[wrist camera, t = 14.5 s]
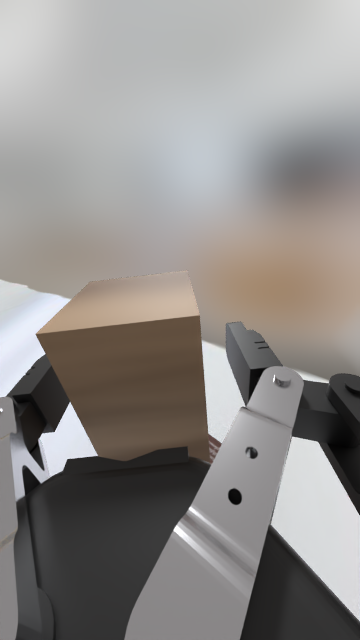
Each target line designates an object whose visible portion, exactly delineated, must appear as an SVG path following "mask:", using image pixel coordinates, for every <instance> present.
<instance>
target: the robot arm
mask: <svg viewBox="0 0 360 640" xmlns="http://www.w3.org/2000/svg"><path fill="white" fill-rule="evenodd" d="M226 353H227V358H228V361H229V364H230V366H231V369H232V372H233V374H234V377H235V379H236V382H237V385H238V387H239V390H240V393H241V395H242V398H243V400H244V403H245V406H246V408H245V407H241V408H240V410H239V411H238V413H237V415H236V417H235V419H234V421H233V423H232V425H231V427H230V429H229V431H228V433H227V435H226V437H225V439H224V441H223V443H222V445H221V447H220V449H219V451H218V453H217V455H216V457H215V459H214V461H213V463H212V464H210V463H208V462H206V461H204V460H202V459H199V458H196V457H191V456H189V452H188V446H185V447H176V448H167V449H158V450H155V451H153V452H150V453H147V454H145V455H142V456H139V457H137V458H134V459H131V460H128V461H120V460H115V459H110V458H104V457H99V456H93V457H84V458H75V459H67V462H66V464H65V467H64V469H63V471H62V472H60V473H58V474H56V475H54V476H52V477H50V474H49V470H48V465H47V461H46V457H45V453H44V449H43V445H42V442H41V440H40V439H39V438H40V436H41V434H42V433H49V432H55V430H56V428H57V426H58V424H59V422H60V420H61V418H62V416H63V414H64V412H65V410H66V408H67V406H68V404H69V402H70V400H69V398H68V396H67V394H66V392H65V390H64V388H63V386H62V385H61V383H60V381H59V379H58V377H57V375H56V373H55V371H54V369H53V367H52V365H51V363H50V361H49V359H48V357H47V355H46V354H45V355H44V356H42V357H41V358H40V359H38V360H37V361H36V362H35V363H34V364H33V366H32V367H31V369H29V370H28V371H27V373H26V375H24V376H23V377H22V378H21V380H20V381H19V382H18V383H17V384H16V385H15V387H14V388H13V389H12V390H11V391H10V392H9V394H8V395H7V396H6V397H1V398H0V640H360V621H359V620H358V619H357V618H356V617H355V616H354V615H353V614H352V613H351V612H350V610H349V609H348V608H347V607H346V606H345V605H344V604H343V603H342V602H341V601H340V600H339V598H338V597H337V596H336V595H335V594H334V593H333V592H332V591H331V590H330V589H329V588H328V587H327V585H326V584H325V583H324V582H323V581H322V580H321V579H320V578H319V577H318V576H317V575H316V573H315V572H314V571H313V570H312V569H311V568H310V567H309V566H308V565H307V564H306V563H305V561H304V560H303V559H302V558H301V557H300V556H299V555H298V554H297V553H296V552H295V551H294V549H293V548H292V547H291V546H290V545H289V544H288V543H287V542H286V541H285V540H284V539H283V537H282V536H281V535H280V534H279V533H278V532H277V531H276V530H275V529H274V528H273V527H272V526H271V521H272V517H273V513H274V509H275V505H276V500H277V496H278V492H279V488H280V484H281V479H282V475H283V471H284V467H285V463H286V459H287V455H288V451H289V446H290V442H291V438H292V436H293V437H298V438H303V439H308V440H313V441H318V442H319V444H320V446H321V448H322V449H323V451H324V453H325V455H326V457H327V458H328V460H329V462H330V464H331V465H332V467H333V469H334V471H335V473H336V474H337V476H338V478H339V480H340V481H341V483H342V485H343V487H344V488H345V490H346V492H347V494H348V496H349V497H350V499H351V501H352V503H353V504H354V506H355V508H356V510H357V512H358V513H359V515H360V377H359V376H356V375H351V374H336V375H334V376H332V377H331V378H330V381H329V383H321V382H313V381H306V380H303V379H302V377H301V376H300V375H299V374H298V373H297V372H295V371H293V370H291V369H289V368H286V367H283V365H282V364H281V363H280V361H279V360H278V359H277V357H276V356H275V354H274V353H273V351H272V350H271V349H270V348H269V346H268V344H267V343H266V342H265V340H264V339H263V337H262V336H261V335H260V334H259V333H257V332H256V331H254V330H246V328H245V327H244V325H243V324H242V322H232V323H227V324H226Z"/></svg>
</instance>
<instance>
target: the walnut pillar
mask: <svg viewBox="0 0 360 640" xmlns="http://www.w3.org/2000/svg"><path fill="white" fill-rule="evenodd" d="M36 336H37V338H38V340H39V342H40V344H41V346H42V348H43V350H44V352H45V353H46V355H47V357H48V359H49V361H50V363H51V365H52V367H53V369H54V371H55V373H56V375H57V377H58V379H59V381H60V383H61V385H62V386H63V388H64V390H65V392H66V394H67V396H68V398H69V400H70V402H71V404H72V406H73V408H74V410H75V412H76V414H77V416H78V418H79V419H80V421H81V423H82V425H83V427H84V429H85V431H86V433H87V435H88V437H89V439H90V441H91V443H92V445H93V447H94V449H95V451H96V453H97V454H98V456H99V457H104V458H110V459H115V460H120V461H128V460H131V459H134V458H137V457H139V456H142V455H145V454H147V453H150V452H153V451H155V450H158V449H167V448H176V447H185V446H188V452H189V456H191V457H196V458H199V459H202V460H204V461H206V462H208V463H210V452H209V438H208V425H207V411H206V397H205V383H204V369H203V355H202V341H201V328H200V315H199V311H198V308H197V304H196V300H195V296H194V293H193V289H192V285H191V281H190V278H189V274H188V270H185V271H177V272H168V273H160V274H151V275H143V276H134V277H126V278H118V279H109V280H101V281H92V282H89V283H88V284H87V285H86V286H85V287H84V288H83V289H82V290H81V291H80V292H79V293H78V294H77V295H76V296H75V297H74V298H73V299H72V300H71V301H70V302H69V303H67V304H66V305H65V306H64V307H63V308H62V309H61V310H60V311H59V312H58V313H57V314H56V315H55V316H54V317H53V318H52V319H51V320H50V321H49V322H48V323H47V324H46V325H45V326H43V327H42V328H41V329H40V330H39V331H38V332H37V333H36Z"/></svg>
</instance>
